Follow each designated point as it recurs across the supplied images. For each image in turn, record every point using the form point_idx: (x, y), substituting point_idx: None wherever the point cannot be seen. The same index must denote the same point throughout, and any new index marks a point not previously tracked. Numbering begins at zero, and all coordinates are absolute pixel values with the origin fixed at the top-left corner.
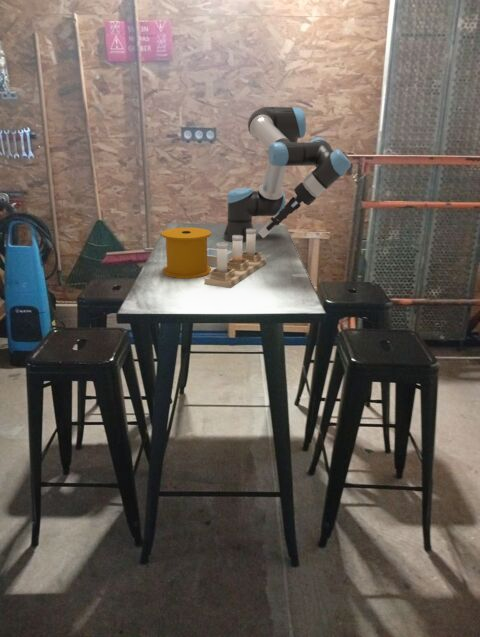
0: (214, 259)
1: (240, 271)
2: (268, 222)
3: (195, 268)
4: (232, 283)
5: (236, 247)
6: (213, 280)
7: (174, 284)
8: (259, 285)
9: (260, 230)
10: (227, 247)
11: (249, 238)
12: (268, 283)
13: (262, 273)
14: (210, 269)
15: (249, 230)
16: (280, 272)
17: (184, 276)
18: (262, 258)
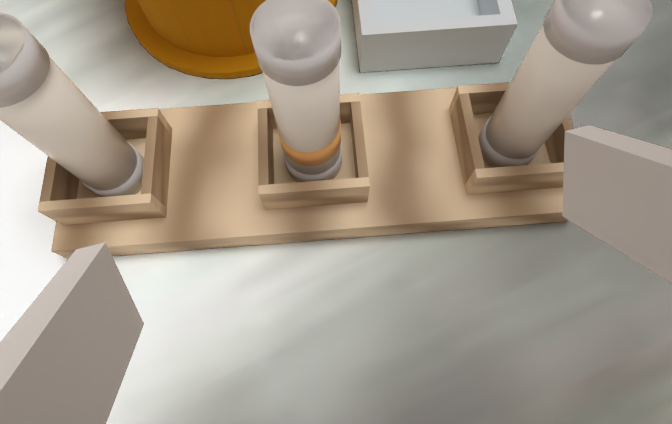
0: (358, 15)
1: (257, 205)
2: (603, 148)
3: (162, 23)
4: None
5: (268, 92)
6: None
7: (43, 40)
8: (163, 376)
9: (61, 273)
10: (1, 103)
11: (532, 60)
12: (219, 408)
13: (381, 290)
14: None
15: (559, 10)
16: (460, 378)
17: (129, 24)
18: None
